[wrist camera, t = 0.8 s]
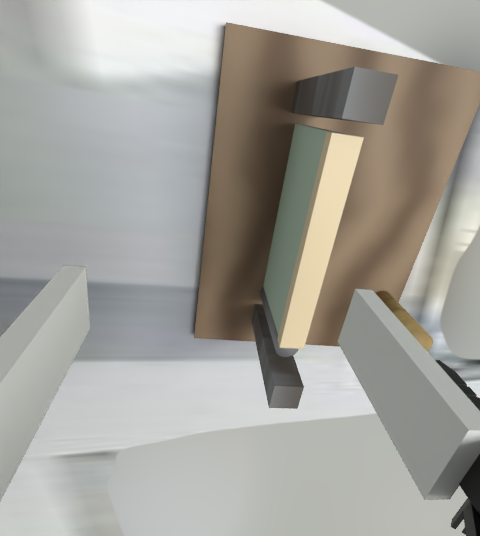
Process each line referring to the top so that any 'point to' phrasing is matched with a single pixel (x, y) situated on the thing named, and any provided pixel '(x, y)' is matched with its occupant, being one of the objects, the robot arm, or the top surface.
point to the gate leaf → (306, 230)
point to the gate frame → (360, 192)
